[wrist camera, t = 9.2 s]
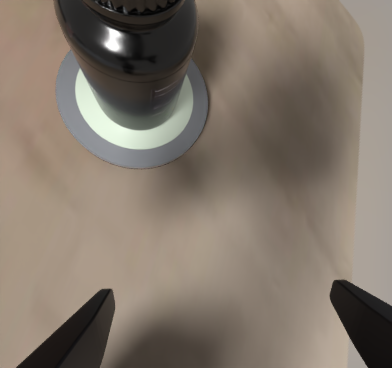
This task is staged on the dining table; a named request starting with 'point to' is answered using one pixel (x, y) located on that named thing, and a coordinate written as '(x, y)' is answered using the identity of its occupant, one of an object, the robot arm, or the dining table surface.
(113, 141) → the plate
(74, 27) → the supplement bottle
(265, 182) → the dining table surface
